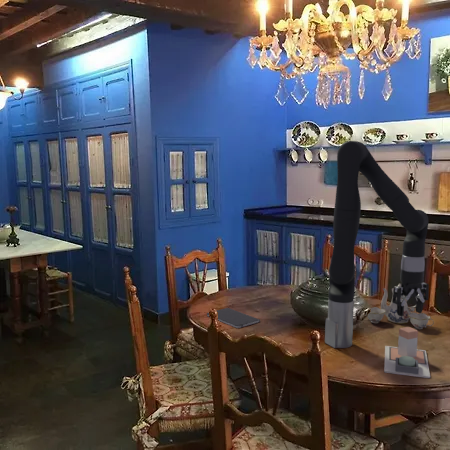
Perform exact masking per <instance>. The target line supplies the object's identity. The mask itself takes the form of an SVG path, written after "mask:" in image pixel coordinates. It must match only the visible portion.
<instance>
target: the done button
mask: <svg viewBox="0 0 450 450" xmlns="http://www.w3.org/2000/svg"><path fill="white" fill-rule="evenodd" d="M399 365H401V366H409V367H415V359H414V358H412V357H409V356H401V357H399Z"/></svg>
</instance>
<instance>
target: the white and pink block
mask: <svg viewBox="0 0 450 450" xmlns="http://www.w3.org/2000/svg"><path fill="white" fill-rule="evenodd" d="M418 336H419V329H416V328H412V327H410V326H405V327H400V328H398V344H397V347H398V355H400V356H409V357H412V358H413V357H416V356H417V349H418V338H419V337H418Z"/></svg>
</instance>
